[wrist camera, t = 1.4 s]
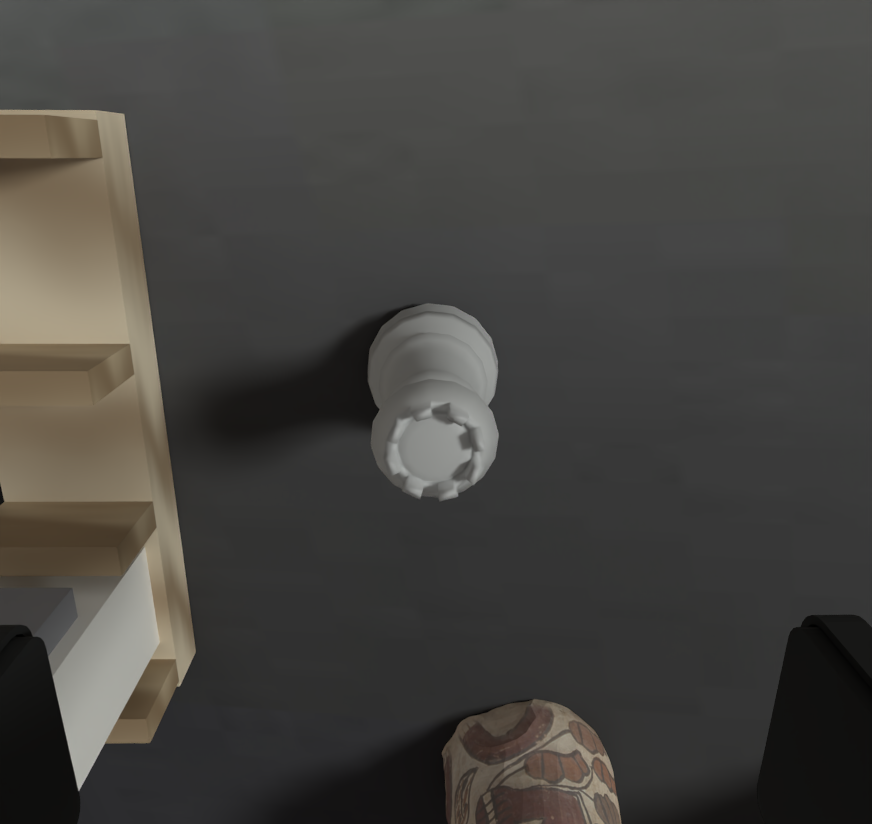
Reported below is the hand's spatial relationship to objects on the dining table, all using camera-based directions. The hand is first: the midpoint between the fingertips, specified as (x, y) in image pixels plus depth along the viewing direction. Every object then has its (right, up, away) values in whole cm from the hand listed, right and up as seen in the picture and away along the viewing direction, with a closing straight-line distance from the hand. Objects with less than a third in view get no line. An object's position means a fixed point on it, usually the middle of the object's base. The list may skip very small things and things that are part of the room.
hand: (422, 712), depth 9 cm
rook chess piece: (0, +6, +16) cm, 17 cm away
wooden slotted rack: (-12, +4, +16) cm, 20 cm away
